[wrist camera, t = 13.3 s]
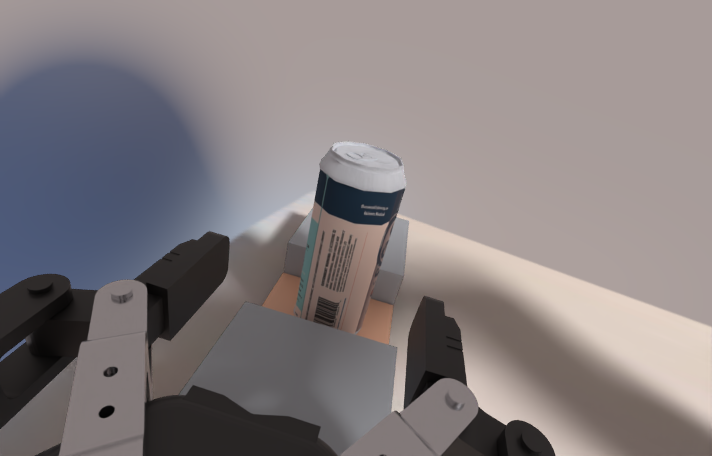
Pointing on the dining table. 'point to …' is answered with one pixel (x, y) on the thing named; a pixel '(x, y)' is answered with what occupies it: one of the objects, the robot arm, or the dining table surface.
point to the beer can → (349, 233)
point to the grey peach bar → (311, 354)
